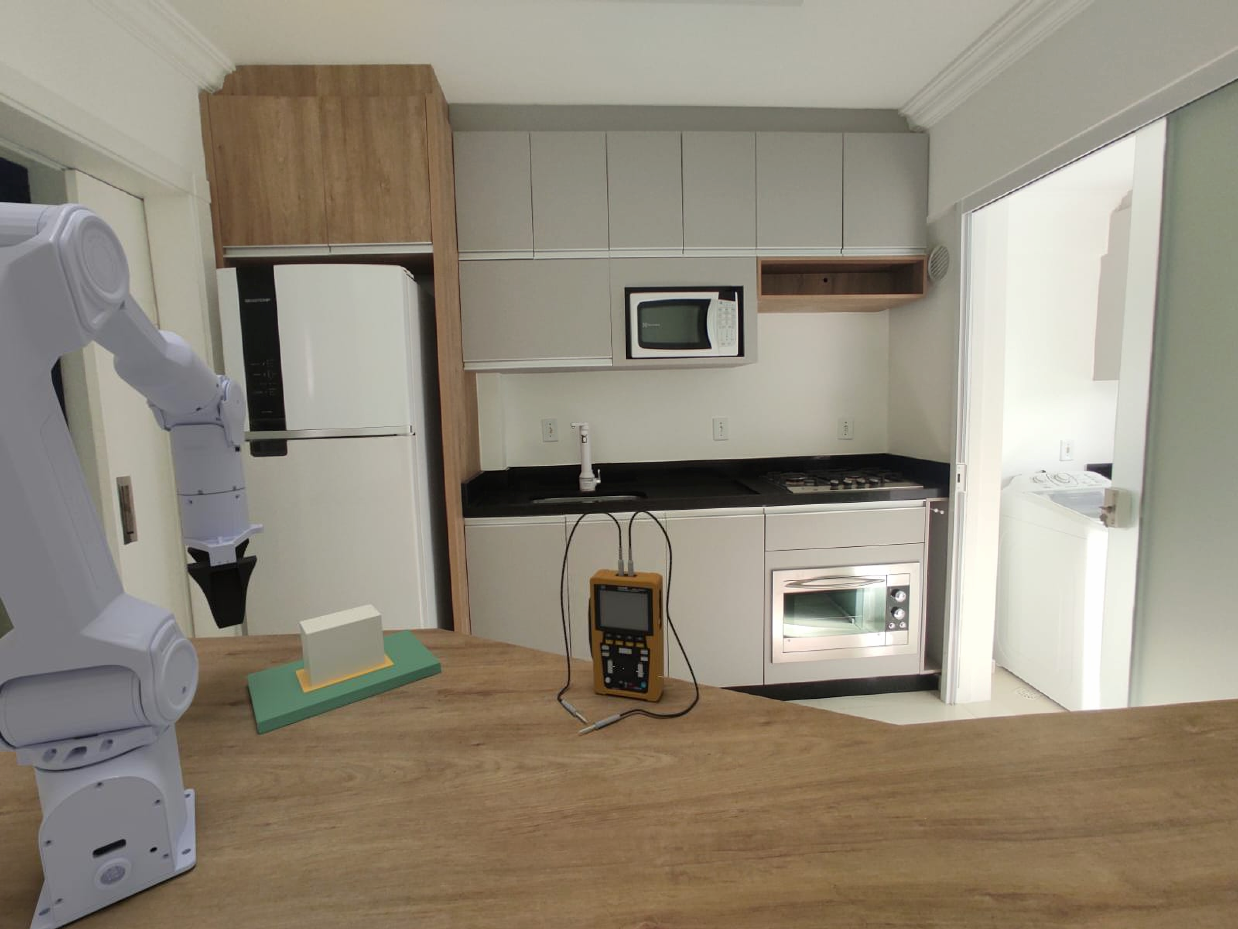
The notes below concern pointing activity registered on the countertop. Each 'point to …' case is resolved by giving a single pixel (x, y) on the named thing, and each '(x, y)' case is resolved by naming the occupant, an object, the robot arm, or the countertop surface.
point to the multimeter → (626, 631)
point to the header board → (335, 683)
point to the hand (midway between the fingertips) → (228, 614)
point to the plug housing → (342, 644)
